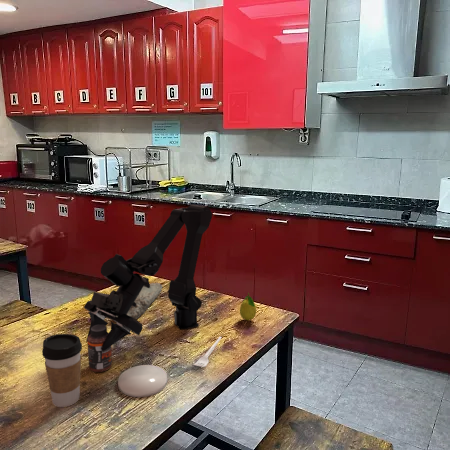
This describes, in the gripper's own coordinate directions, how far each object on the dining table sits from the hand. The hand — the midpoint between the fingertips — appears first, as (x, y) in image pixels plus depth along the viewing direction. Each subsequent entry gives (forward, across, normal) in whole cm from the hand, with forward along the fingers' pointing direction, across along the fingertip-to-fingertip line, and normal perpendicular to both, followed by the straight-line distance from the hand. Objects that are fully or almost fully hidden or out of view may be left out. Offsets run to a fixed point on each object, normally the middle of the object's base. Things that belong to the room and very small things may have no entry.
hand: (94, 346), depth 108 cm
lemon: (-30, +14, +40) cm, 52 cm away
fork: (-13, +17, +23) cm, 32 cm away
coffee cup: (+13, +5, -4) cm, 15 cm away
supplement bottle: (+4, 0, +6) cm, 7 cm away
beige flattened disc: (+2, +14, +7) cm, 16 cm away
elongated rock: (-20, -24, +30) cm, 44 cm away
